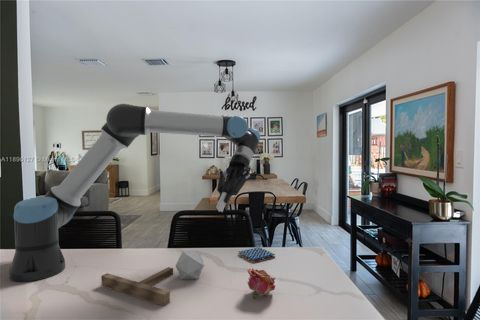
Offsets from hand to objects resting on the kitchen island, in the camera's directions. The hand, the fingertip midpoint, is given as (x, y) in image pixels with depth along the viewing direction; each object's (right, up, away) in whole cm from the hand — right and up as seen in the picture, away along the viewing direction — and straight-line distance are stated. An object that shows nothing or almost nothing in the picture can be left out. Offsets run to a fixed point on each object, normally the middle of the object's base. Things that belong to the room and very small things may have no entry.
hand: (219, 209), depth 107 cm
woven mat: (+13, -19, +5) cm, 24 cm away
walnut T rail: (-18, -19, -17) cm, 32 cm away
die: (-8, -19, -13) cm, 24 cm away
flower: (+13, -19, -24) cm, 34 cm away
